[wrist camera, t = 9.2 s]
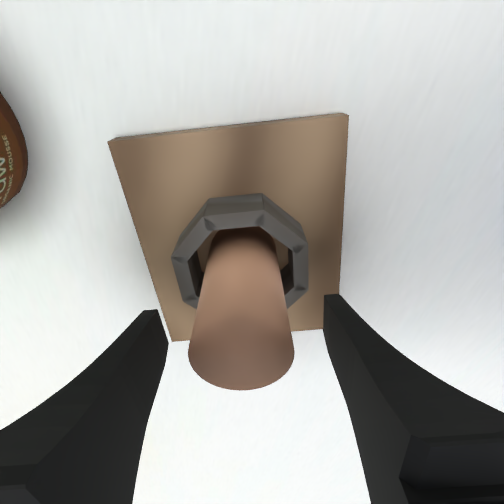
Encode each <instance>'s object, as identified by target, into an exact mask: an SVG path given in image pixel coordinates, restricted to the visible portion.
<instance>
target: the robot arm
mask: <svg viewBox="0 0 504 504" xmlns="http://www.w3.org/2000/svg"><path fill="white" fill-rule="evenodd" d="M323 332H324V337H325V341H326V346H327V350H328V353H329V356H330V359H331V362H332V365H333V368H334V370H335V373H336V376H337V379H338V381H339V384H340V387H341V390H342V393H343V395H344V398H345V401H346V404H347V407H348V410H349V414H350V418H351V421H352V425H353V429H354V433H355V437H356V441H357V445H358V449H359V453H360V457H361V461H362V466H363V470H364V474H365V479H366V483H367V487H368V492H369V496H370V501H371V504H504V413H503V412H501V411H499V410H497V409H495V408H493V407H491V406H489V405H487V404H485V403H483V402H481V401H479V400H477V399H475V398H473V397H471V396H469V395H467V394H465V393H463V392H461V391H460V390H458V389H456V388H454V387H452V386H451V385H449V384H447V383H445V382H444V381H442V380H440V379H439V378H437V377H436V376H434V375H432V374H431V373H429V372H428V371H426V370H425V369H423V368H422V367H420V366H418V365H417V364H416V363H414V362H413V361H411V360H410V359H408V358H407V357H406V356H404V355H403V354H402V353H400V352H399V351H398V350H397V349H395V348H394V347H393V346H392V345H390V344H389V343H388V342H387V341H386V340H385V339H383V338H382V337H381V336H380V335H379V334H378V333H377V332H376V331H374V330H373V329H372V328H371V327H370V326H369V325H368V324H367V323H366V322H365V321H364V320H363V319H362V318H361V317H360V316H359V315H358V314H357V313H356V312H355V311H354V310H353V309H352V308H351V306H350V305H349V304H348V303H347V302H346V301H345V300H344V299H343V298H342V296H341V295H339V294H328V295H324V312H323ZM168 344H169V343H168V340H167V337H166V334H165V331H164V328H163V325H162V322H161V319H160V316H159V313H158V310H157V309H155V310H144V311H143V312H142V313H141V314H140V315H139V316H138V317H137V318H136V319H135V320H134V321H133V322H132V323H131V324H130V325H129V326H128V328H127V329H126V330H125V331H124V332H123V333H122V334H121V335H120V336H119V337H118V338H117V339H116V340H115V341H114V342H113V343H112V344H111V345H110V346H109V347H108V348H107V349H106V350H105V351H104V352H103V353H102V354H101V355H100V356H99V357H98V358H97V359H96V360H95V361H94V362H93V363H92V364H90V365H89V366H88V367H87V368H86V369H85V370H84V371H83V372H81V373H80V374H79V375H78V376H77V377H75V378H74V379H73V380H72V381H71V382H69V383H68V384H67V385H66V386H64V387H63V388H62V389H60V390H59V391H58V392H56V393H55V394H54V395H52V396H51V397H50V398H48V399H47V400H46V401H44V402H43V403H41V404H40V405H39V406H37V407H36V408H34V409H33V410H31V411H30V412H28V413H27V414H25V415H24V416H22V417H21V418H19V419H18V420H16V421H15V422H13V423H11V424H10V425H8V426H7V427H5V428H3V429H2V430H0V504H132V501H133V495H134V489H135V482H136V477H137V471H138V466H139V460H140V455H141V450H142V445H143V440H144V435H145V431H146V426H147V422H148V419H149V415H150V412H151V409H152V405H153V402H154V399H155V396H156V393H157V389H158V386H159V383H160V380H161V376H162V373H163V370H164V366H165V362H166V356H167V350H168Z"/></svg>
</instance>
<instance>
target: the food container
mask: <svg viewBox="0 0 504 504" xmlns="http://www.w3.org/2000/svg"><path fill="white" fill-rule="evenodd" d="M27 168H28V155H27V148H26V143H25V139H24V135H23V133H22V130H21V127H20V125H19V122H18V120H17V118H16V117H15V115H14V113H13V111H12V109H11V107H10V106H9V104H8V103H7V101H6V100H5V98H4V97H3V95H2V94H1V92H0V208H1V207H3V206H4V205H5V204H7V203H8V202H9V201H10V200H11V199H12V198H13V197H14V196H15V195H17V194H18V193H19V192H20V190H21V188H22V185H23V183H24V181H25V178H26V175H27Z"/></svg>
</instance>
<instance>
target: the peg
mask: <svg viewBox="0 0 504 504" xmlns="http://www.w3.org/2000/svg"><path fill="white" fill-rule="evenodd" d="M188 357H189V362H190V364H191V366H192V368H193V370H194V371H195V372H196V373H197V374H198V375H199V376H200V377H201V378H202V379H204V380H205V381H207V382H209V383H210V384H213V385H215V386H218V387H221V388H225V389H230V390H252V389H257V388H261V387H264V386H267V385H270V384H272V383H274V382H275V381H277V380H278V379H280V378H281V377H282V376H283V375H285V374H286V372H287V371H288V370H289V368H290V367H291V365H292V363H293V359H294V346H293V340H292V335H291V329H290V324H289V318H288V313H287V307H286V302H285V296H284V291H283V285H282V280H281V274H280V269H279V263H278V257H277V252H276V246H275V243H274V240H273V238H272V236H271V235H270V234H269V233H268V232H266V231H265V230H264V229H262V228H261V227H260V226H253V227H243V228H232V229H222V230H219V231H218V232H217V233H216V234H215V236H214V237H213V239H212V242H211V245H210V250H209V255H208V260H207V264H206V269H205V274H204V278H203V283H202V288H201V292H200V297H199V302H198V307H197V311H196V316H195V321H194V325H193V330H192V335H191V339H190V344H189V349H188Z"/></svg>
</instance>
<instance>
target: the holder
mask: <svg viewBox="0 0 504 504" xmlns="http://www.w3.org/2000/svg"><path fill="white" fill-rule="evenodd" d="M348 122H349V115H347V114H344V113H337V114H327V115H318V116H309V117H300V118H291V119H282V120H273V121H264V122H255V123H246V124H236V125H227V126H218V127H209V128H200V129H191V130H182V131H173V132H164V133H155V134H145V135H136V136H127V137H118V138H115V139H112V140H110V141H108V145H109V148H110V151H111V155H112V158H113V161H114V164H115V167H116V170H117V173H118V176H119V179H120V182H121V185H122V188H123V192H124V195H125V198H126V201H127V204H128V207H129V210H130V213H131V216H132V219H133V222H134V226H135V229H136V232H137V235H138V238H139V241H140V244H141V247H142V250H143V253H144V256H145V260H146V263H147V266H148V269H149V272H150V275H151V278H152V281H153V284H154V287H155V290H156V294H157V297H158V300H159V303H160V306H161V309H162V312H163V315H164V318H165V321H166V324H167V327H168V331H169V334H170V337H171V340H172V342H174V341H186V340H190V339H191V335H192V330H193V325H194V321H195V316H196V311H197V307H198V302H199V297H200V292H201V288H202V283H203V278H204V274H205V269H206V264H207V260H208V255H209V250H210V245H211V242H212V239H213V237H214V236H215V234H216V233H217V232H218V231H219V230H222V229H232V228H243V227H253V226H260V227H261V228H262V229H264V230H265V231H266V232H268V233H269V234H270V235H271V236H272V238H273V240H274V243H275V246H276V252H277V257H278V263H279V269H280V274H281V280H282V285H283V291H284V296H285V302H286V307H287V313H288V318H289V324H290V329H291V331H303V330H315V329H323V312H324V295H328V294H339V282H340V265H341V247H342V229H343V211H344V193H345V175H346V157H347V140H348Z"/></svg>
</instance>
